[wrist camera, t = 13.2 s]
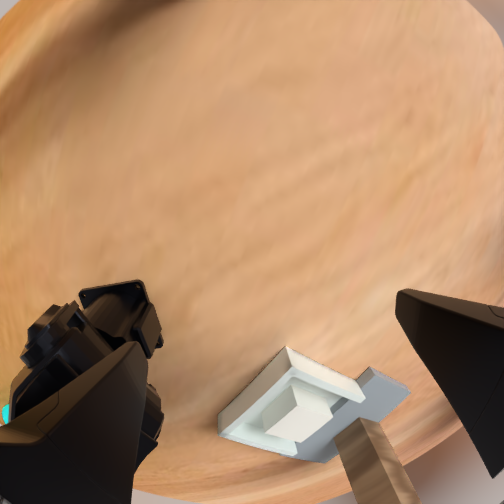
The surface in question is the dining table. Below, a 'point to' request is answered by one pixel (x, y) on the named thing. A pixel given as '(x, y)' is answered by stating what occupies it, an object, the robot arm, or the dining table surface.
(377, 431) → the walnut block
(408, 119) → the dining table surface
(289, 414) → the tile
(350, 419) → the board
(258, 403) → the tray
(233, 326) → the dining table surface
